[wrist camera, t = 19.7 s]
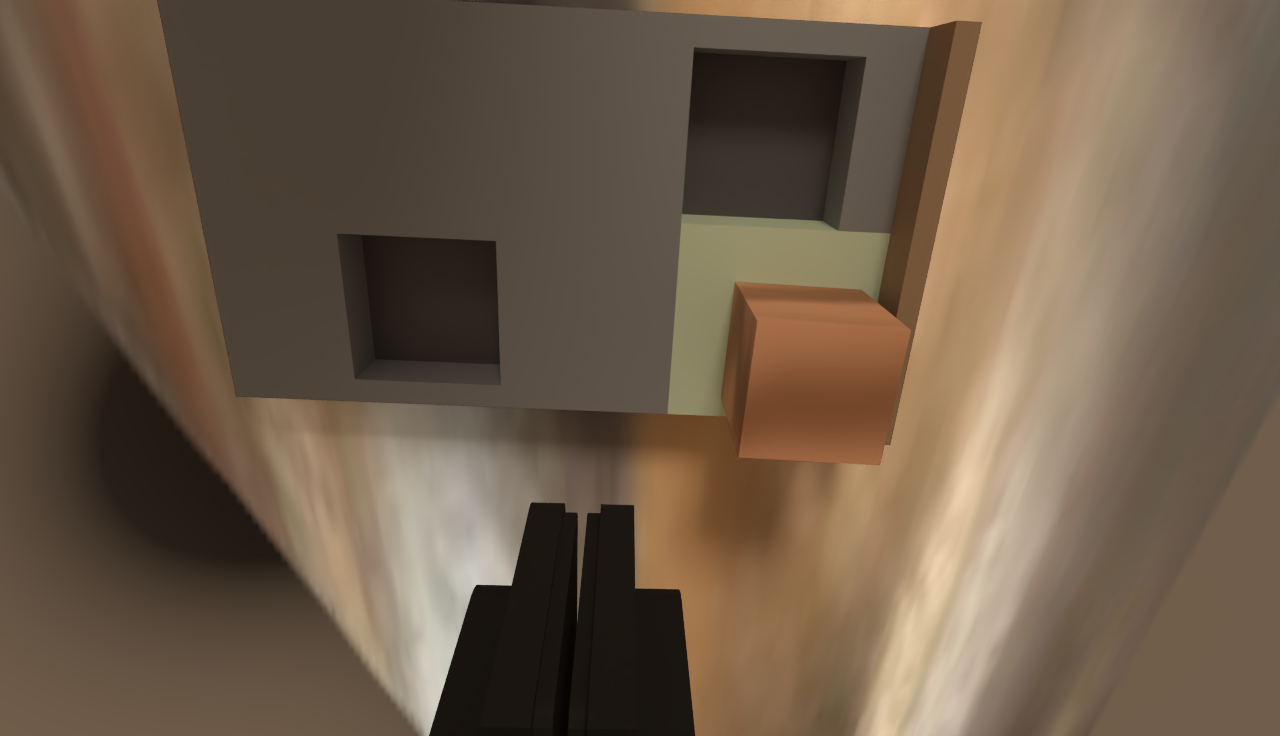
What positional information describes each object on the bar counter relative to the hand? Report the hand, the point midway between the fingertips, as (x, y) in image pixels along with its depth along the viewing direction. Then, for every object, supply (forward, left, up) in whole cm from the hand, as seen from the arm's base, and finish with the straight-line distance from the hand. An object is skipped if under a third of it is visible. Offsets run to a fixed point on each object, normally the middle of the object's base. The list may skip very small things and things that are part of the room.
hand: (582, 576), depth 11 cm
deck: (-3, -2, -19) cm, 19 cm away
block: (+2, +7, -16) cm, 18 cm away
